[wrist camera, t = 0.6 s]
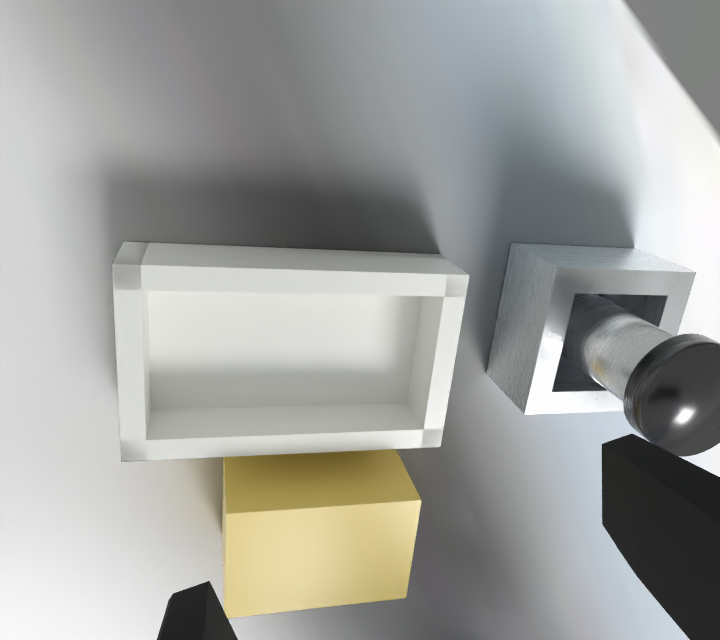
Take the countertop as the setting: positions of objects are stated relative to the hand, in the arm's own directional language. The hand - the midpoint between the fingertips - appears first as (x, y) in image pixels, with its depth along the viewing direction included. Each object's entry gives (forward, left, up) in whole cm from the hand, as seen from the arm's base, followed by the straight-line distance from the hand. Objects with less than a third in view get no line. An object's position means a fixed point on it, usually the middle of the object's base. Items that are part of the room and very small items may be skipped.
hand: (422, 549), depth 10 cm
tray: (0, +1, -11) cm, 11 cm away
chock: (-6, 0, -11) cm, 12 cm away
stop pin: (+1, -9, -11) cm, 14 cm away
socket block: (+1, -9, -11) cm, 14 cm away
